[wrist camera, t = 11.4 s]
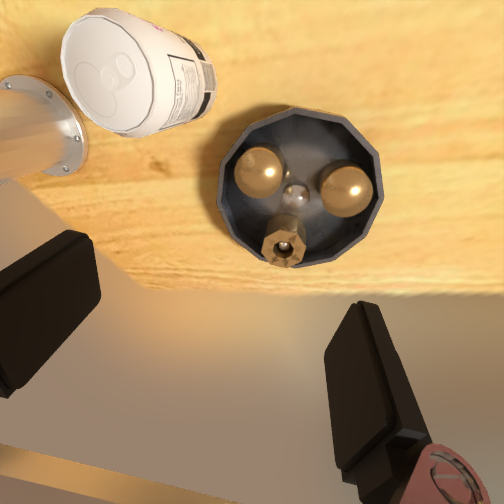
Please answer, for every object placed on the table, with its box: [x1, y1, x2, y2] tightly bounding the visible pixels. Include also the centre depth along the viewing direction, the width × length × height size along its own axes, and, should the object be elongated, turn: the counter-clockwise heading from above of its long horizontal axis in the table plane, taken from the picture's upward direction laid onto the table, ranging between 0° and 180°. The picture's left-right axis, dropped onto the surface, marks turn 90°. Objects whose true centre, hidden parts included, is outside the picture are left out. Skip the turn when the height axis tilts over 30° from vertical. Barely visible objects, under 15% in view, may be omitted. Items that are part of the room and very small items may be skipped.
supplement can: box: [60, 8, 218, 138], centre depth 25 cm, size 8×8×15 cm
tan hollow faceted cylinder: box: [261, 214, 306, 268], centre depth 36 cm, size 5×5×5 cm
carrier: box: [216, 106, 384, 268], centre depth 33 cm, size 20×20×6 cm
